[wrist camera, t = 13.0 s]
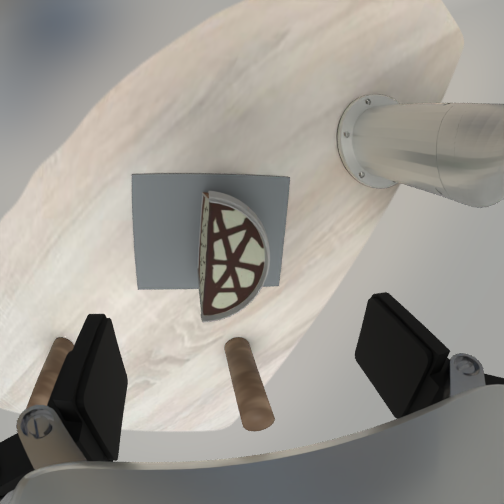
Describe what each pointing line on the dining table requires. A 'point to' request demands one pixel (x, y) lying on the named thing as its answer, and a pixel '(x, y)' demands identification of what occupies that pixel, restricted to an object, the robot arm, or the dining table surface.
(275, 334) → the dining table surface
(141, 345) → the dining table surface
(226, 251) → the food container
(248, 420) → the walnut post
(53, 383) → the walnut post
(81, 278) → the dining table surface
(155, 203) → the charcoal mat
